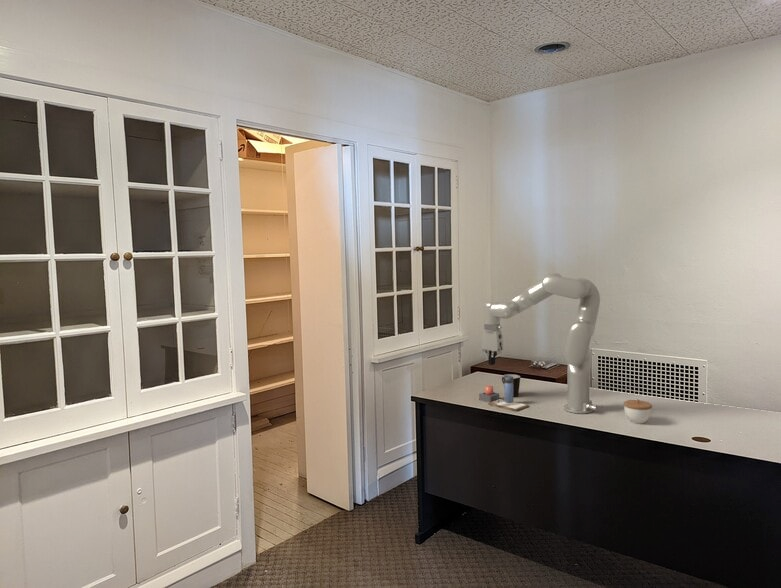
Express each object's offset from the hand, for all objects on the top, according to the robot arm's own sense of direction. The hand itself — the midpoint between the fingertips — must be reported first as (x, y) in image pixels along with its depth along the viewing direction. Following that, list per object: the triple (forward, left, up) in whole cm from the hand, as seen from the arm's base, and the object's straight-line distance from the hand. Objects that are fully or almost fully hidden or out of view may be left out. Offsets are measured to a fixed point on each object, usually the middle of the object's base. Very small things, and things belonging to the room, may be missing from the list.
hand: (491, 364), depth 264 cm
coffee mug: (-1, -14, -18) cm, 23 cm away
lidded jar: (-64, -16, -18) cm, 68 cm away
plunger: (+2, 0, -16) cm, 17 cm away
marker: (-10, -1, -17) cm, 20 cm away
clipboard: (-11, +2, -18) cm, 21 cm away
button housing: (+2, 0, -18) cm, 18 cm away
